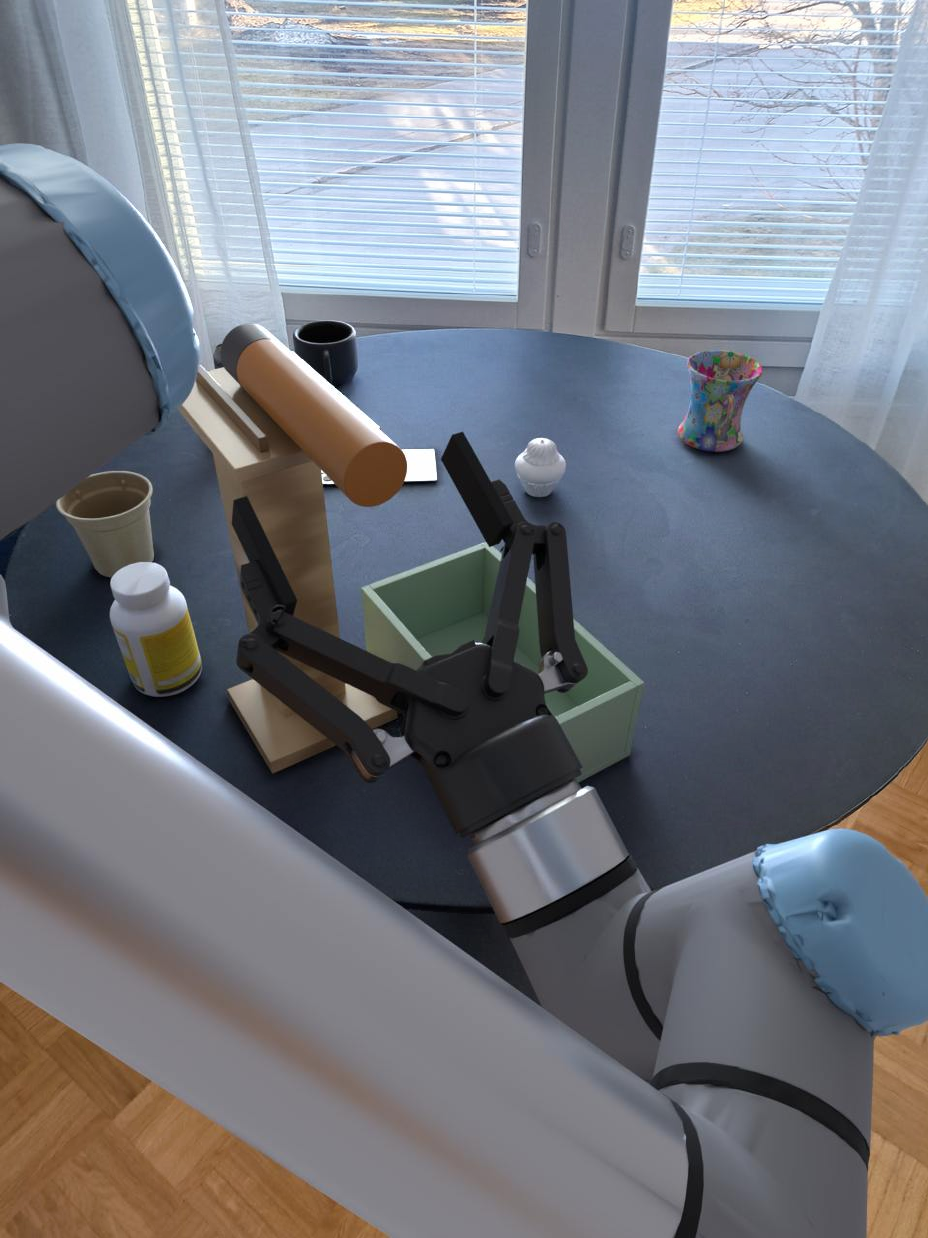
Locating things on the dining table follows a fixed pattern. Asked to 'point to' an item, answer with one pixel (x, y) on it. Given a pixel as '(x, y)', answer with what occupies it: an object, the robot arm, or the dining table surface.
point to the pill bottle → (154, 630)
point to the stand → (276, 550)
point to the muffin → (540, 467)
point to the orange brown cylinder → (315, 416)
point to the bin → (458, 613)
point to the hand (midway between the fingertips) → (350, 475)
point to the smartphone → (411, 467)
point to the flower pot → (111, 519)
